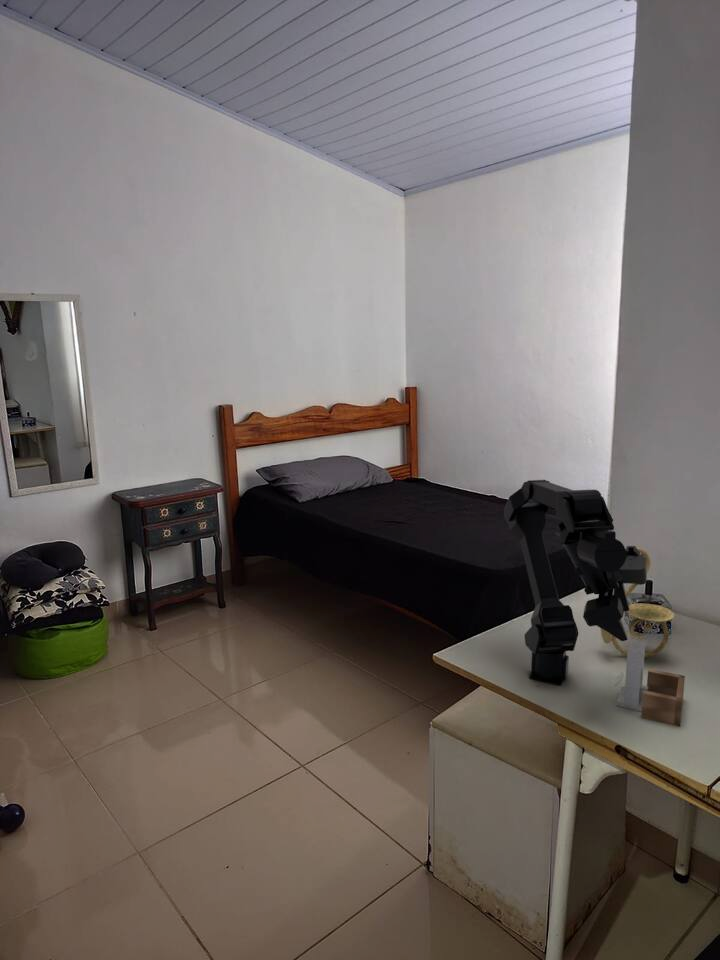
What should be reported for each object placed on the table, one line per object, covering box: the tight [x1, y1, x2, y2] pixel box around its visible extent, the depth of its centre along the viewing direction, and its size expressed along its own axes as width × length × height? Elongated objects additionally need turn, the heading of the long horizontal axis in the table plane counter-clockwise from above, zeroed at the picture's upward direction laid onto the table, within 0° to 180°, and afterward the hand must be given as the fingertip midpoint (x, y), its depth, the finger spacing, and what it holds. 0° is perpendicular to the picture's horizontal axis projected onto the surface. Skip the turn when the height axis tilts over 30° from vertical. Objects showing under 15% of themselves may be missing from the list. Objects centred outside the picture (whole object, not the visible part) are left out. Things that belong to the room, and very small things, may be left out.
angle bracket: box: [616, 639, 648, 712], centre depth 120 cm, size 5×6×11 cm
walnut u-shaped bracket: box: [640, 668, 686, 728], centre depth 118 cm, size 6×10×5 cm, turn 151°
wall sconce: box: [600, 546, 675, 659], centre depth 137 cm, size 14×10×25 cm
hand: (625, 625), depth 119 cm, fingers open, 9 cm apart
